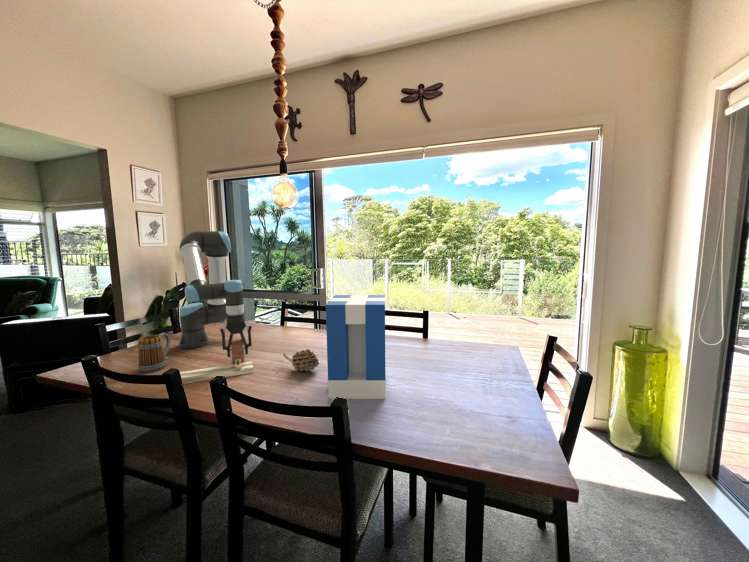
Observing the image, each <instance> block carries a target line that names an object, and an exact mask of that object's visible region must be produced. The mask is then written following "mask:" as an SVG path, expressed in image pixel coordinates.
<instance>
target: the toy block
mask: <svg viewBox="0 0 749 562" xmlns="http://www.w3.org/2000/svg"><path fill="white" fill-rule="evenodd" d="M325 320H326V321H325V325H326V328H325V330H326V356H327V357H326V358H327V360H326V362H327V388H328V389H327V391H328V399H337V398H336V397H341V398H347V400H348V399H355V400H356V399H361V400H362V399H364V400H365V399H366V400H372V399H373V400H378V399H379V400H380V399H381V400H382V399H383V400H385V399H386V398H387V397H386V395H387V392H386V390H387V388H386V380H387V379H386V295H385V294H335V295H333V297H332V298H330V300H329V301H328V302H327V303H325Z"/></svg>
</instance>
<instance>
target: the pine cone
mask: <svg viewBox="0 0 749 562" xmlns="http://www.w3.org/2000/svg"><path fill="white" fill-rule="evenodd" d="M282 355H283V358H285V359H286V360H288V361H289V362H291V364H292V367H293V368H294V370H296V371H298V370H299V371H300V372H304V371H305V372H308V371H314V370H315V368H317V367H318V366H319V365H320V363H319V361H320V360H319V358H318V357H317V356H318V354H316V353H314V350H313V351H311V349H309V348H307V349H306V350H305V349H303V350H301V351H296V353H295V354H293V355H292V357H290V356H288V355H287V353H285V352H283V353H282Z"/></svg>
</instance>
